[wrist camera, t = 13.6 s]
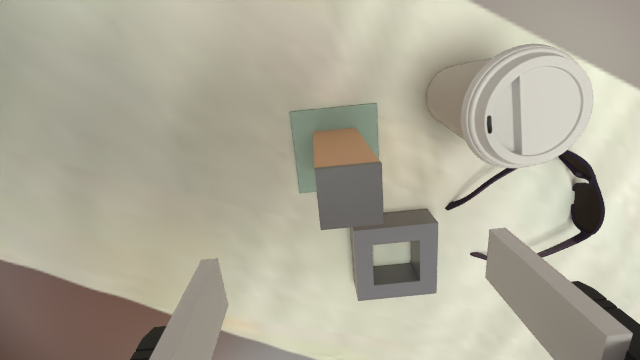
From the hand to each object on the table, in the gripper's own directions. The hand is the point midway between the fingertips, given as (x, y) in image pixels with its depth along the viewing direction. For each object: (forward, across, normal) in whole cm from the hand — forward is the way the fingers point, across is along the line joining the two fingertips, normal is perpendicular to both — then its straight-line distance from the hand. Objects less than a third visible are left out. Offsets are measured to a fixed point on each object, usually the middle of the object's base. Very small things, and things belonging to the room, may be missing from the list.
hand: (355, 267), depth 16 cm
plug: (+25, +1, -1) cm, 25 cm away
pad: (+25, +1, -1) cm, 25 cm away
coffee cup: (+25, +15, +4) cm, 30 cm away
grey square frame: (+25, +7, -15) cm, 30 cm away
